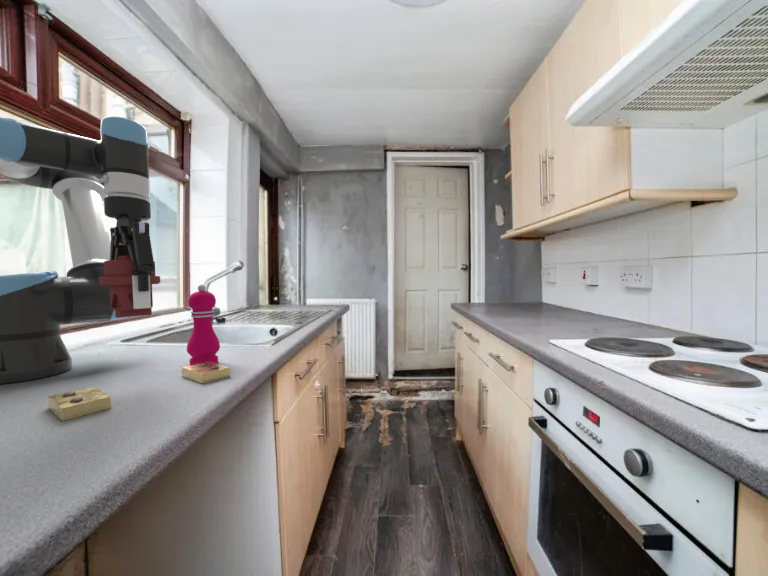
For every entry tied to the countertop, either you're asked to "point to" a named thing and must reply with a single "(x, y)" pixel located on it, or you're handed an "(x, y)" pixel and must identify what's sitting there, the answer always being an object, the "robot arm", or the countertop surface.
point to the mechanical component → (124, 287)
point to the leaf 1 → (79, 403)
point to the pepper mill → (202, 328)
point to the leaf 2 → (205, 372)
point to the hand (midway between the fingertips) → (132, 307)
